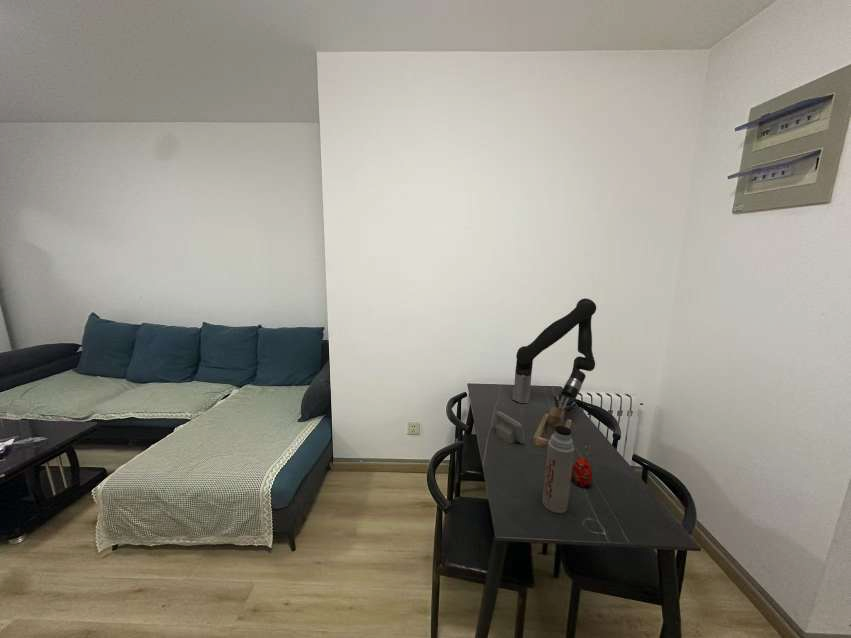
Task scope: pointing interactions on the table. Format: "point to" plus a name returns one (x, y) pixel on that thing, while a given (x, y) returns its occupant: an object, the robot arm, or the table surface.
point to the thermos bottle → (558, 470)
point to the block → (555, 419)
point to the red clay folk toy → (582, 471)
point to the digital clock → (509, 429)
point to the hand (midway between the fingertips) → (558, 415)
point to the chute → (537, 437)
